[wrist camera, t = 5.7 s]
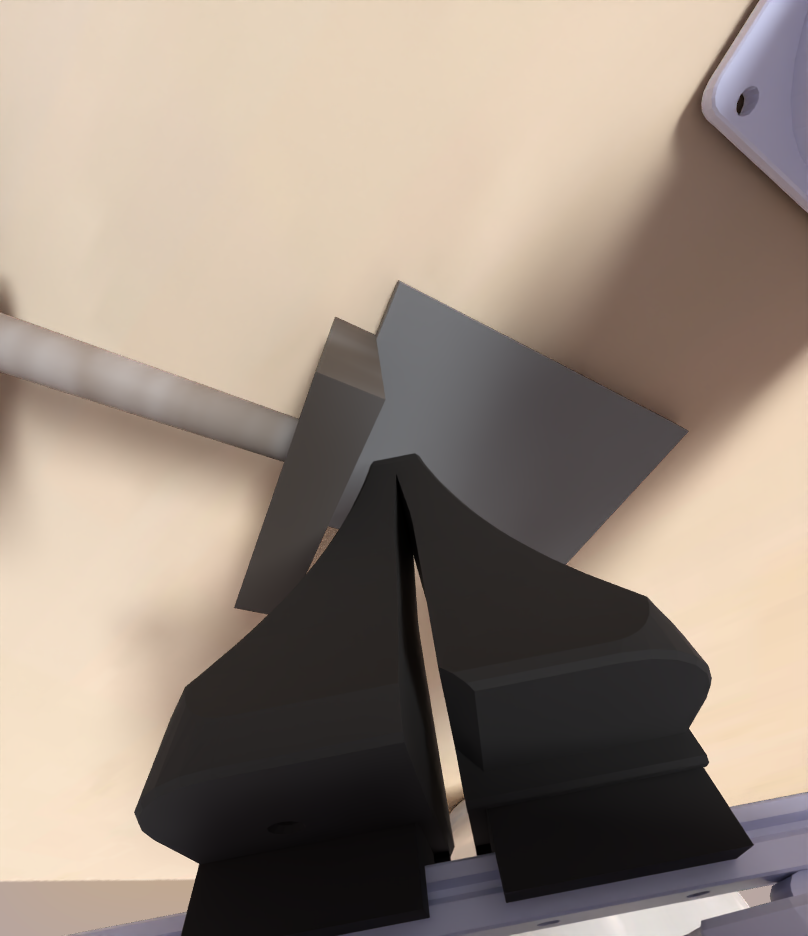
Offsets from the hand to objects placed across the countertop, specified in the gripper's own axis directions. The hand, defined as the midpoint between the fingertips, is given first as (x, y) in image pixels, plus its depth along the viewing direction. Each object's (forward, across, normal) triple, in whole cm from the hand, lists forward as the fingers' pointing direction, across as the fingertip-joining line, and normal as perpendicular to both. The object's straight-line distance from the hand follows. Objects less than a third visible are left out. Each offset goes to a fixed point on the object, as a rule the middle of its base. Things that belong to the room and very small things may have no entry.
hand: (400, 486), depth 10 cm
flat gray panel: (+3, -4, +2) cm, 5 cm away
